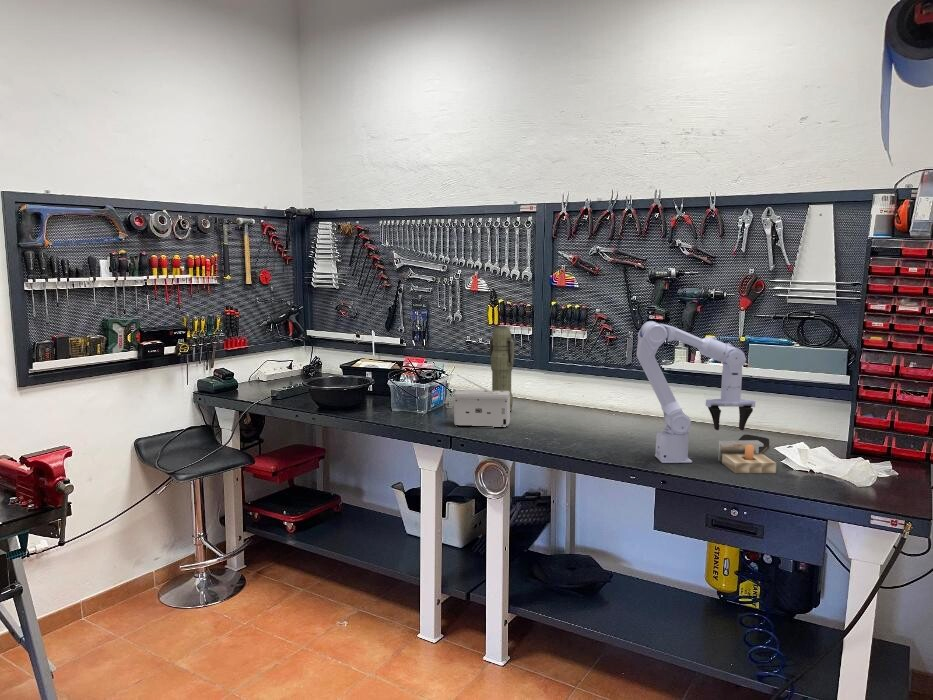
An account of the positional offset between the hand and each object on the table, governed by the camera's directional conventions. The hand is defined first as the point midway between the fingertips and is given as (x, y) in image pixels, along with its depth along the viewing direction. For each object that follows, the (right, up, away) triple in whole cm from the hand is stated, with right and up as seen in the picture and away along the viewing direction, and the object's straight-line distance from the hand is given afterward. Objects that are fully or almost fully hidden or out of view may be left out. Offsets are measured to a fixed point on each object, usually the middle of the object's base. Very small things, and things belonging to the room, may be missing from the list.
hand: (728, 429), depth 213 cm
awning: (+3, -10, -1) cm, 11 cm away
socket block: (+3, -11, -7) cm, 13 cm away
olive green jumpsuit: (-67, -1, +71) cm, 97 cm away
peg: (+3, -11, -7) cm, 13 cm away
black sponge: (+12, -9, +12) cm, 19 cm away
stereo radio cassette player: (-75, -4, +46) cm, 88 cm away
